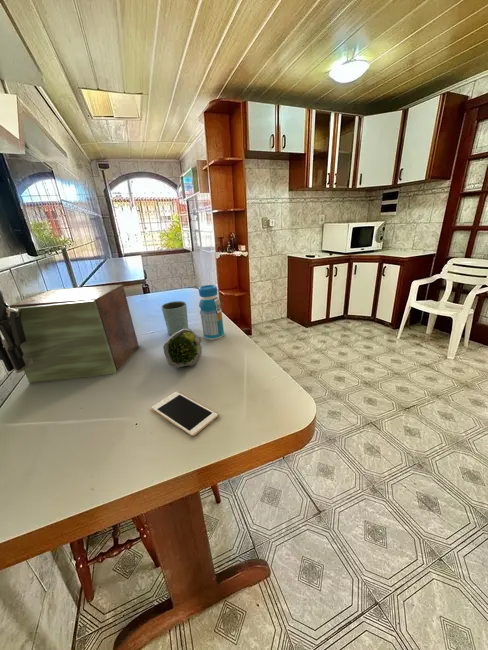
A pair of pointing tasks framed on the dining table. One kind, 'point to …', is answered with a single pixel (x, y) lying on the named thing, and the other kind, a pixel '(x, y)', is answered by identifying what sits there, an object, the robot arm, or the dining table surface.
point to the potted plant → (183, 348)
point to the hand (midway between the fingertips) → (16, 368)
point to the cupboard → (110, 310)
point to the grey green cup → (175, 316)
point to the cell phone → (185, 413)
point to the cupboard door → (64, 342)
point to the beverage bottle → (210, 312)
